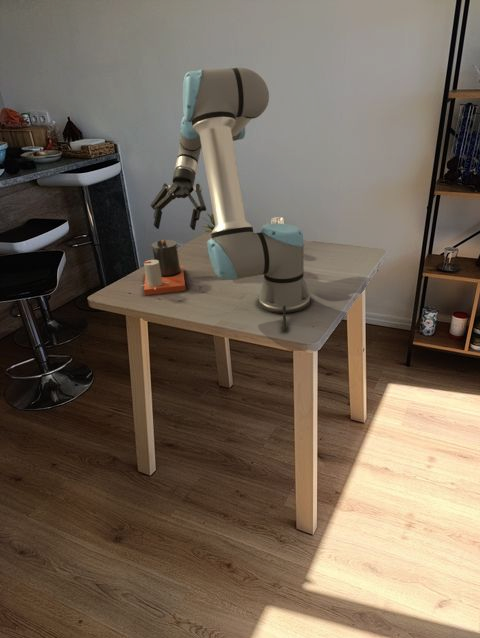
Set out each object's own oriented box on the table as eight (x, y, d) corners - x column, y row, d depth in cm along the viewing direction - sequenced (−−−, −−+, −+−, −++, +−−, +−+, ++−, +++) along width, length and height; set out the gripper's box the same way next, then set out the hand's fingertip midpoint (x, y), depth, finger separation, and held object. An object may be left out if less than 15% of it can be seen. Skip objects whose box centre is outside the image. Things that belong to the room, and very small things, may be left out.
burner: (182, 275, 162) (182, 274, 162) (155, 278, 161) (154, 277, 160) (181, 265, 170) (181, 265, 169) (155, 268, 168) (155, 268, 168)
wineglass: (282, 246, 188) (281, 216, 182) (288, 250, 183) (287, 219, 177) (268, 249, 186) (267, 218, 180) (274, 253, 182) (273, 222, 175)
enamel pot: (181, 274, 162) (176, 242, 156) (156, 277, 161) (150, 244, 155) (180, 265, 169) (175, 234, 163) (156, 268, 168) (150, 237, 162)
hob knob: (162, 280, 159) (158, 258, 155) (162, 286, 155) (158, 263, 151) (147, 282, 158) (143, 259, 154) (147, 287, 154) (143, 264, 150)
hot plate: (185, 291, 155) (184, 285, 154) (141, 297, 153) (140, 290, 152) (183, 270, 171) (182, 264, 170) (143, 275, 169) (142, 269, 168)
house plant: (204, 245, 193) (199, 204, 185) (238, 244, 193) (235, 203, 184) (200, 258, 181) (195, 215, 173) (236, 256, 181) (233, 213, 172)
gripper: (221, 179, 171) (211, 233, 167) (157, 179, 177) (146, 231, 173) (214, 166, 164) (204, 223, 160) (148, 166, 170) (136, 221, 166)
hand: (174, 227), depth 166 cm, fingers open, 13 cm apart
